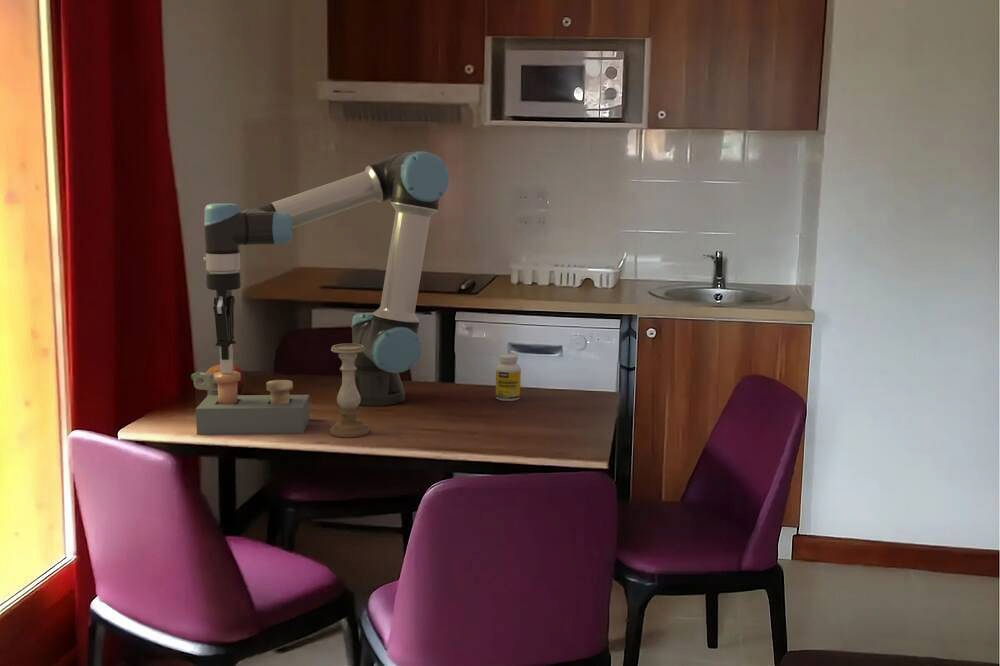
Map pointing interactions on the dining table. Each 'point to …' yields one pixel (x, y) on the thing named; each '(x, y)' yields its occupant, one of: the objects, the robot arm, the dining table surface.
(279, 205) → the robot arm
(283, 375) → the dining table surface
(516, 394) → the pill bottle
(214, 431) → the socket board
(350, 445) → the dining table surface
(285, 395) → the beech plug
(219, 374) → the terracotta plug
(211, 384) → the mechanical component
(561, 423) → the dining table surface
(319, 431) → the dining table surface
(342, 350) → the candle holder
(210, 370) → the fruit
